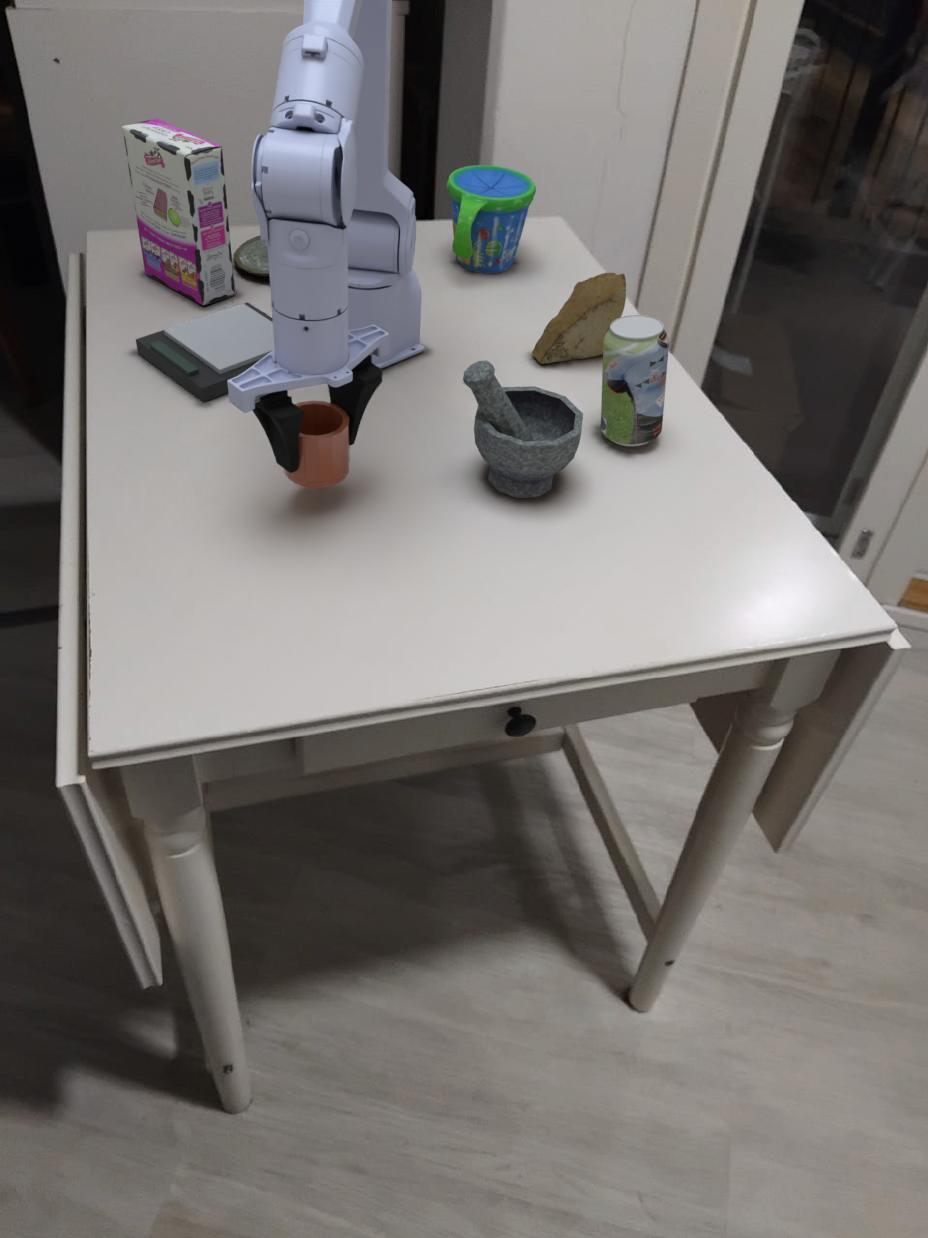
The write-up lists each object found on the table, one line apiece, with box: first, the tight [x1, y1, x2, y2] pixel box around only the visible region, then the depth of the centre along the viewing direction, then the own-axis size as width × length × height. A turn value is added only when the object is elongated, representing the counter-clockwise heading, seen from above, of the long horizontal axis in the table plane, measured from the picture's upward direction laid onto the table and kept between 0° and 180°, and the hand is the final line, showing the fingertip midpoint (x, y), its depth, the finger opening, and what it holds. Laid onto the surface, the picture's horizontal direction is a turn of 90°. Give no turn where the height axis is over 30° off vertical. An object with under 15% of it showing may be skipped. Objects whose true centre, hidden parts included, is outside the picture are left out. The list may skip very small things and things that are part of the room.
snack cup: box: [446, 164, 537, 274], centre depth 117 cm, size 16×10×10 cm
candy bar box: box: [121, 118, 236, 306], centre depth 105 cm, size 11×5×16 cm, turn 49°
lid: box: [232, 235, 270, 277], centre depth 114 cm, size 11×10×5 cm
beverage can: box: [600, 314, 670, 447], centre depth 91 cm, size 6×7×12 cm
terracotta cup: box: [283, 400, 351, 489], centre depth 80 cm, size 6×6×5 cm
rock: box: [531, 272, 627, 365], centre depth 104 cm, size 11×9×10 cm
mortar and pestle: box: [462, 360, 584, 499], centre depth 84 cm, size 11×9×12 cm
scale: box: [135, 301, 274, 403], centre depth 99 cm, size 14×12×2 cm
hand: (315, 453), depth 81 cm, fingers closed on terracotta cup, 5 cm apart
